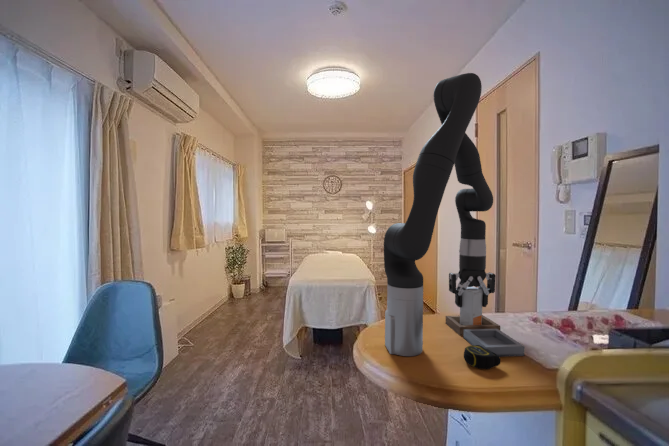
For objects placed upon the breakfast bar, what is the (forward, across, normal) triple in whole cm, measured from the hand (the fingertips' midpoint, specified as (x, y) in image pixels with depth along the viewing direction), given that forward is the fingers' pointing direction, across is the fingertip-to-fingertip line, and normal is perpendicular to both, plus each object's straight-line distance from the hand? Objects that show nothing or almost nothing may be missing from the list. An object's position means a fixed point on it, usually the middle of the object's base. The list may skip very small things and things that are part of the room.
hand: (471, 306), depth 99 cm
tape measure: (+7, -9, -22) cm, 25 cm away
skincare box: (+7, 0, 0) cm, 7 cm away
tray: (+7, -1, -13) cm, 15 cm away
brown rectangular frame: (+7, 0, 0) cm, 7 cm away
